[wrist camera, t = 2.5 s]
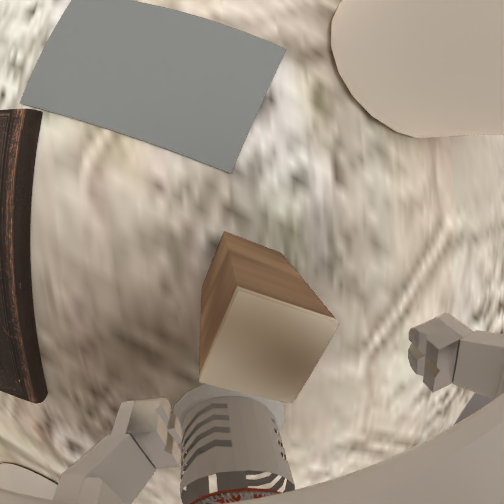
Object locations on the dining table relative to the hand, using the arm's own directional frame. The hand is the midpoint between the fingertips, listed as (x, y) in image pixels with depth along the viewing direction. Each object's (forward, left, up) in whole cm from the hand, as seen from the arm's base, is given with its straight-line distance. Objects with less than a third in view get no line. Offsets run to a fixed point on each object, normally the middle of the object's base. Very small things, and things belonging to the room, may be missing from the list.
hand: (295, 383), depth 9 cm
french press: (-14, -4, -12) cm, 19 cm away
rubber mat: (+10, +11, -12) cm, 19 cm away
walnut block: (0, 0, -12) cm, 12 cm away
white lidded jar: (+19, -5, -12) cm, 23 cm away
